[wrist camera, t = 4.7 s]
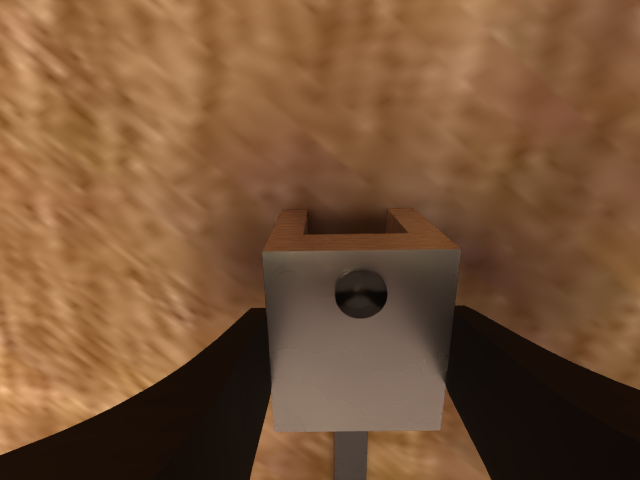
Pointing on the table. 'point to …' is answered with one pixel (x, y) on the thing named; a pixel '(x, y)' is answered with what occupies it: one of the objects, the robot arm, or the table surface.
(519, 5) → the table surface
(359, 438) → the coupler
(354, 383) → the notched block with hole
